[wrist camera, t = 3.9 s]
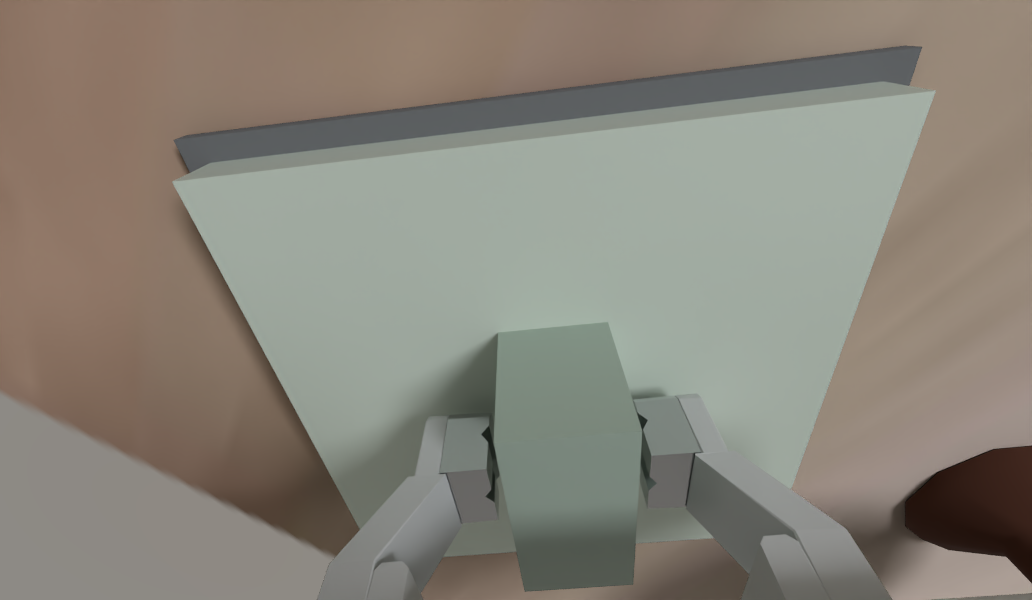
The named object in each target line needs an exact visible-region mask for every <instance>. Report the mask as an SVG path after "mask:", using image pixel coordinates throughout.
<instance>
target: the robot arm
mask: <svg viewBox="0 0 1032 600" xmlns="http://www.w3.org/2000/svg"><path fill="white" fill-rule="evenodd" d="M633 403H634V406H635V409H636V413H637V416H638V419H639V422H640V425H641V428H642V445H641V461H640V485H641V488H642V492H643V495H644V499H645V502H646V506H647V509H654V508H675V507H686V509H687V510H688V511H689V512H690V513H691V515H692V516H693V517H694V518H695V519H696V520H697V521H698V522H699V523H700V524H701V525H702V526H703V527H704V528H705V529H706V530H707V531H708V532H709V533H710V534H711V535H712V536H713V537H714V538H715V539H716V540H717V542H718V543H719V544H720V545H721V546H722V547H723V548H724V549H725V550H726V551H727V552H728V553H729V554H730V555H731V556H732V557H733V558H734V559H735V560H736V561H737V562H738V563H739V564H740V565H741V566H742V567H743V569H744V570H745V571H746V572H747V573H748V574H749V577H748V580H747V583H746V586H745V589H744V592H743V595H742V597H741V600H892V598H891V597H890V595H889V593H888V592H887V590H886V589H885V587H884V586H883V584H882V583H881V581H880V580H879V578H878V577H877V575H876V574H875V572H874V570H873V569H872V567H871V566H870V564H869V563H868V561H867V560H866V558H865V557H864V555H863V554H862V552H861V551H860V549H859V547H858V546H857V544H856V543H855V541H854V540H853V538H852V537H851V535H850V534H849V532H848V531H847V529H846V528H845V527H843V526H842V525H840V524H839V523H838V522H836V521H835V520H833V519H832V518H830V517H829V516H828V515H826V514H825V513H823V512H822V511H820V510H819V509H818V508H816V507H815V506H813V505H812V504H811V503H809V502H808V501H806V500H805V499H803V498H802V497H801V496H799V495H798V494H796V493H795V492H793V491H792V490H791V489H789V488H788V487H786V486H785V485H784V484H782V483H781V482H779V481H778V480H776V479H775V478H774V477H772V476H771V475H769V474H768V473H767V472H765V471H764V470H762V469H761V468H759V467H758V466H757V465H755V464H754V463H752V462H751V461H749V460H748V459H747V458H745V457H744V456H742V455H741V454H740V453H738V452H737V451H728V449H727V447H726V445H725V443H724V441H723V439H722V437H721V435H720V433H719V431H718V429H717V427H716V425H715V424H714V422H713V420H712V418H711V416H710V414H709V412H708V410H707V408H706V406H705V404H704V402H703V400H702V398H701V396H700V395H698V394H697V393H696V394H685V395H675V396H663V397H653V398H643V399H633ZM499 476H500V471H499V466H498V462H497V457H496V452H495V447H494V420H493V416H492V413H491V412H489V413H472V414H456V415H446V416H430V417H428V419H427V421H426V423H425V428H424V432H423V437H422V442H421V447H420V451H419V456H418V461H417V465H416V470H415V475H414V476H410V477H407V478H406V479H405V481H404V482H403V483H402V484H401V485H400V486H399V487H398V488H397V489H396V491H395V492H394V493H393V494H392V495H391V496H390V497H389V498H388V499H387V500H386V502H385V503H384V504H383V505H382V506H381V507H380V508H379V509H378V510H377V512H376V513H375V514H374V515H373V516H372V517H371V518H370V519H369V520H368V522H367V523H366V524H365V525H364V526H363V527H362V528H361V529H360V530H359V531H358V533H357V534H356V535H355V536H354V537H353V538H352V539H351V540H350V541H349V543H348V544H347V545H346V546H345V547H344V548H343V549H342V550H341V551H340V552H339V554H338V555H337V556H336V557H335V558H334V559H333V560H332V561H331V562H330V564H329V566H328V569H327V572H326V575H325V578H324V580H323V584H322V586H321V589H320V592H319V596H318V598H317V600H423V598H422V595H421V592H422V590H423V589H424V587H425V585H426V584H427V582H428V581H429V579H430V577H431V576H432V574H433V572H434V571H435V569H436V568H437V566H438V564H439V563H440V561H441V559H442V558H443V556H444V554H445V553H446V551H447V550H448V548H449V546H450V545H451V543H452V541H453V540H454V538H455V537H456V535H457V533H458V532H459V530H460V528H461V527H462V525H461V524H463V523H473V522H482V521H492V520H498V516H499V490H498V485H497V478H498V477H499ZM932 600H1032V593H1029V594H1013V595H997V596H981V597H965V598H949V599H932Z"/></svg>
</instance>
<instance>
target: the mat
mask: <svg viewBox="0 0 1032 600" xmlns="http://www.w3.org/2000/svg"><path fill="white" fill-rule="evenodd" d="M921 49H922V47H916V46H899V47H891V48H883V49H875V50H867V51H859V52H851V53H843V54H835V55H827V56H819V57H811V58H803V59H795V60H787V61H779V62H771V63H763V64H755V65H747V66H738V67H730V68H722V69H714V70H706V71H698V72H690V73H682V74H674V75H666V76H658V77H650V78H642V79H634V80H626V81H618V82H610V83H602V84H594V85H586V86H578V87H570V88H562V89H554V90H546V91H538V92H530V93H522V94H514V95H506V96H498V97H490V98H482V99H474V100H466V101H458V102H450V103H442V104H434V105H426V106H418V107H410V108H402V109H394V110H386V111H378V112H370V113H362V114H354V115H346V116H338V117H330V118H322V119H314V120H306V121H298V122H290V123H282V124H274V125H266V126H258V127H250V128H242V129H234V130H226V131H217V132H209V133H201V134H193V135H186V136H183V137H181V138H178V139H175V140H174V142H175V144H176V146H177V148H178V150H179V152H180V154H181V155H182V157H183V159H184V161H185V163H186V165H187V167H188V169H189V171H190V173H191V172H193V171H195V170H197V169H199V168H201V167H203V166H205V165H207V164H209V163H213V162H221V161H230V160H238V159H246V158H254V157H263V156H271V155H279V154H288V153H296V152H304V151H312V150H321V149H329V148H337V147H345V146H354V145H362V144H370V143H378V142H387V141H395V140H403V139H411V138H420V137H428V136H436V135H445V134H453V133H461V132H469V131H478V130H486V129H494V128H502V127H511V126H519V125H527V124H535V123H544V122H552V121H560V120H569V119H577V118H585V117H593V116H602V115H610V114H618V113H626V112H635V111H643V110H651V109H659V108H668V107H676V106H684V105H692V104H701V103H709V102H717V101H726V100H734V99H742V98H750V97H759V96H767V95H775V94H783V93H792V92H800V91H808V90H816V89H825V88H833V87H841V86H850V85H858V84H866V83H874V82H883V81H884V82H890V83H896V84H901V85H907V86H909V85H910V82H911V79H912V76H913V73H914V70H915V67H916V64H917V61H918V58H919V55H920V52H921Z"/></svg>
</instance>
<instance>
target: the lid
mask: <svg viewBox="0 0 1032 600" xmlns="http://www.w3.org/2000/svg"><path fill="white" fill-rule="evenodd" d="M935 92H936V91H935V90H929V89H924V88H918V87H912V86H907V85H901V84H896V83H890V82H884V81H883V82H874V83H866V84H858V85H850V86H841V87H833V88H825V89H816V90H808V91H800V92H792V93H783V94H775V95H767V96H759V97H750V98H742V99H734V100H726V101H717V102H709V103H701V104H692V105H684V106H676V107H668V108H659V109H651V110H643V111H635V112H626V113H618V114H610V115H602V116H593V117H585V118H577V119H569V120H560V121H552V122H544V123H535V124H527V125H519V126H511V127H502V128H494V129H486V130H478V131H469V132H461V133H453V134H445V135H436V136H428V137H420V138H411V139H403V140H395V141H387V142H378V143H370V144H362V145H354V146H345V147H337V148H329V149H321V150H312V151H304V152H296V153H288V154H279V155H271V156H263V157H254V158H246V159H238V160H230V161H221V162H213V163H209V164H207V165H205V166H203V167H201V168H199V169H197V170H195V171H193V172H191V173H189V174H187V175H185V176H183V177H181V178H179V179H177V180H175V181H173V184H174V186H175V188H176V190H177V192H178V194H179V195H180V197H181V199H182V201H183V203H184V205H185V207H186V208H187V210H188V212H189V214H190V216H191V218H192V220H193V221H194V223H195V225H196V227H197V229H198V231H199V233H200V234H201V236H202V238H203V240H204V242H205V244H206V245H207V247H208V249H209V251H210V253H211V255H212V257H213V258H214V260H215V262H216V264H217V266H218V268H219V270H220V271H221V273H222V275H223V277H224V279H225V281H226V283H227V284H228V286H229V288H230V290H231V292H232V294H233V295H234V297H235V299H236V301H237V303H238V305H239V307H240V308H241V310H242V312H243V314H244V316H245V318H246V320H247V321H248V323H249V325H250V327H251V329H252V331H253V333H254V334H255V336H256V338H257V340H258V342H259V344H260V346H261V347H262V349H263V351H264V353H265V355H266V357H267V358H268V360H269V362H270V364H271V366H272V368H273V370H274V371H275V373H276V375H277V377H278V379H279V381H280V383H281V384H282V386H283V388H284V390H285V392H286V394H287V396H288V397H289V399H290V401H291V403H292V405H293V407H294V408H295V410H296V412H297V414H298V416H299V418H300V420H301V421H302V423H303V425H304V427H305V429H306V431H307V433H308V434H309V436H310V438H311V440H312V442H313V444H314V446H315V447H316V449H317V451H318V453H319V455H320V457H321V459H322V460H323V462H324V464H325V466H326V468H327V470H328V471H329V473H330V475H331V477H332V479H333V481H334V483H335V484H336V486H337V488H338V490H339V492H340V494H341V496H342V497H343V499H344V501H345V503H346V505H347V507H348V509H349V510H350V512H351V514H352V516H353V518H354V520H355V521H356V523H357V525H358V527H359V529H361V528H362V527H363V526H364V525H365V524H366V523H367V522H368V520H369V519H370V518H371V517H372V516H373V515H374V514H375V513H376V512H377V510H378V509H379V508H380V507H381V506H382V505H383V504H384V503H385V502H386V500H387V499H388V498H389V497H390V496H391V495H392V494H393V493H394V492H395V491H396V489H397V488H398V487H399V486H400V485H401V484H402V483H403V482H404V481H405V479H406V478H407V477H410V476H414V475H415V470H416V465H417V461H418V456H419V451H420V447H421V442H422V437H423V432H424V428H425V423H426V421H427V419H428V417H430V416H446V415H456V414H472V413H489V412H491V413H492V416H493V420H494V447H495V452H496V457H497V462H498V466H499V471H500V476H499V477H498V478H497V485H498V490H499V516H498V520H492V521H482V522H473V523H463V524H461V525H462V527H461V528H460V530H459V532H458V533H457V535H456V537H455V538H454V540H453V541H452V543H451V545H450V546H449V548H448V550H447V551H446V553H445V554H444V556H443V557H451V556H465V555H480V554H494V553H508V552H517V557H518V561H519V566H520V571H521V576H522V580H523V585H524V590H525V592H526V591H542V590H557V589H572V588H588V587H603V586H618V585H633V578H634V561H635V545H636V543H651V542H665V541H679V540H693V539H708V538H714V537H713V536H712V535H711V534H710V533H709V532H708V531H707V530H706V529H705V528H704V527H703V526H702V525H701V524H700V523H699V522H698V521H697V520H696V519H695V518H694V517H693V516H692V515H691V513H690V512H689V511H688V510H687V509H686V507H675V508H654V509H647V506H646V502H645V499H644V495H643V492H642V488H641V485H640V461H641V445H642V428H641V425H640V422H639V419H638V416H637V413H636V409H635V406H634V403H633V399H643V398H653V397H663V396H675V395H685V394H696V393H697V394H698V395H700V396H701V398H702V400H703V402H704V404H705V406H706V408H707V410H708V412H709V414H710V416H711V418H712V420H713V422H714V424H715V425H716V427H717V429H718V431H719V433H720V435H721V437H722V439H723V441H724V443H725V445H726V447H727V449H728V451H737V452H738V453H740V454H741V455H742V456H744V457H745V458H747V459H748V460H749V461H751V462H752V463H754V464H755V465H757V466H758V467H759V468H761V469H762V470H764V471H765V472H767V473H768V474H769V475H771V476H772V477H774V478H775V479H776V480H778V481H779V482H781V483H782V484H784V485H785V486H786V487H788V488H789V489H791V488H792V485H793V482H794V480H795V477H796V474H797V471H798V469H799V466H800V463H801V460H802V458H803V455H804V452H805V449H806V447H807V444H808V441H809V438H810V436H811V433H812V430H813V427H814V425H815V422H816V419H817V416H818V414H819V411H820V408H821V405H822V403H823V400H824V397H825V394H826V392H827V389H828V386H829V383H830V381H831V378H832V375H833V372H834V370H835V367H836V364H837V361H838V359H839V356H840V353H841V350H842V348H843V345H844V342H845V339H846V337H847V334H848V331H849V328H850V326H851V323H852V320H853V317H854V315H855V312H856V309H857V306H858V304H859V301H860V298H861V295H862V293H863V290H864V287H865V284H866V282H867V279H868V276H869V273H870V271H871V268H872V265H873V262H874V260H875V257H876V254H877V251H878V249H879V246H880V243H881V240H882V238H883V235H884V232H885V229H886V227H887V224H888V221H889V218H890V216H891V213H892V210H893V207H894V205H895V202H896V199H897V196H898V194H899V191H900V188H901V185H902V183H903V180H904V177H905V174H906V172H907V169H908V166H909V163H910V161H911V158H912V155H913V152H914V150H915V147H916V144H917V141H918V139H919V136H920V133H921V130H922V128H923V125H924V122H925V119H926V117H927V114H928V111H929V108H930V106H931V103H932V100H933V97H934V95H935Z"/></svg>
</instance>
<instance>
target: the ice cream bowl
mask: <svg viewBox="0 0 1032 600" xmlns="http://www.w3.org/2000/svg"><path fill="white" fill-rule="evenodd" d="M905 526H906V527H907V528H908V529H909V530H911V531H912V532H913V533H914V534H916V535H917V536H918V537H919V538H921V539H923V540H925V541H928V542H930V543H933V544H935V545H938V546H940V547H943V548H945V549H948V550H954V551H962V552H971V553H979V554H988V555H996V556H1005V557H1007V558H1008V559H1009V560H1010V561H1011V562H1012V563H1013V564H1014V565H1015V566H1016V567H1017V568H1018V569H1019V570H1020V571H1021V572H1022V574H1023V575H1024V576H1025V577H1026V578H1027V579H1028V580H1029V581H1030V582H1031V583H1032V446H1027V447H1016V448H1005V449H994V450H992V451H989V452H987V453H985V454H982V455H980V456H977V457H975V458H972V459H970V460H968V461H965V462H963V463H960V464H958V465H955V466H953V467H950V468H948V469H946V470H943V471H941V472H938V473H937V474H936V475H935V476H934V477H933V478H932V479H930V480H929V481H928V482H927V483H926V484H925V485H924V486H923V487H922V488H921V489H919V490H918V491H917V492H916V493H915V494H914V495H913V496H912V497H911V498H910V499H908V500H907V501H906V502H905Z"/></svg>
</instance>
